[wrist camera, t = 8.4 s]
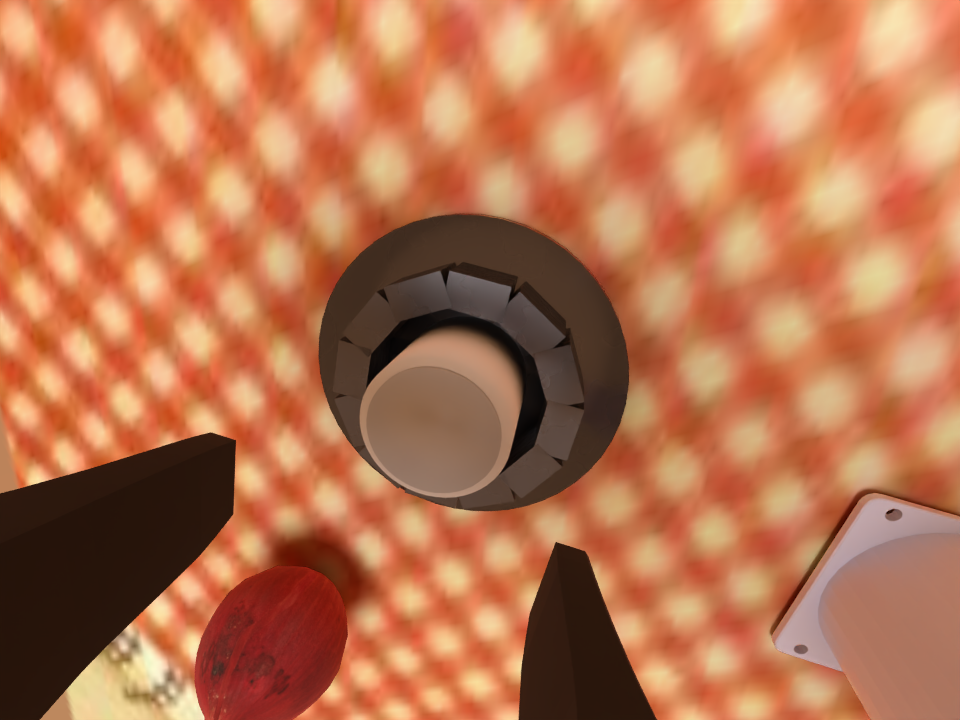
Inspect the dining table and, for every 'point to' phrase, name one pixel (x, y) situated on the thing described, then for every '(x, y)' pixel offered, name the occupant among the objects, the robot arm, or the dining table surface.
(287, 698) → the onion
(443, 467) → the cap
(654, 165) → the dining table surface
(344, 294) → the ridged round lid
